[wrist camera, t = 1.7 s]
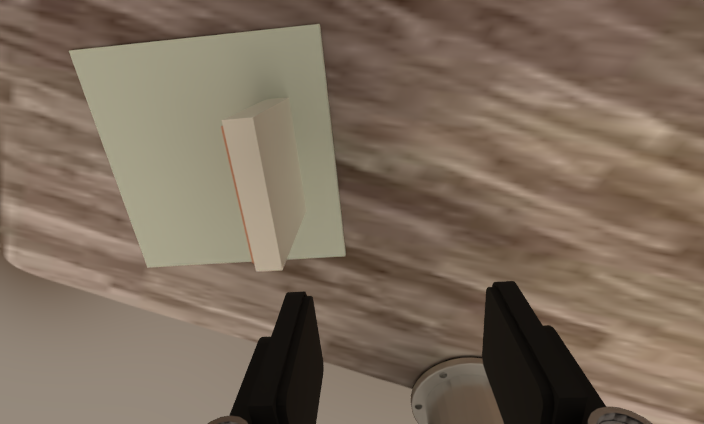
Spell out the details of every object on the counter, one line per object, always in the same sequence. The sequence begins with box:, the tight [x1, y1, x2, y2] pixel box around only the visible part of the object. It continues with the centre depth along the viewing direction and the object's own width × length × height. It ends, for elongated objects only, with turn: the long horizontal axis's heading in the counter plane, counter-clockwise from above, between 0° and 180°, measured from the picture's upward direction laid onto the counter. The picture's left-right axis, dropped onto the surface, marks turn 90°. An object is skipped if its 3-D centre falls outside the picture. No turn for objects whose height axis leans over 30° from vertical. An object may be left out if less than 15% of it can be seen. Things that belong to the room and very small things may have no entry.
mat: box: [69, 24, 346, 267], centre depth 32 cm, size 20×20×1 cm
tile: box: [221, 97, 306, 272], centre depth 27 cm, size 2×10×10 cm, turn 5°
